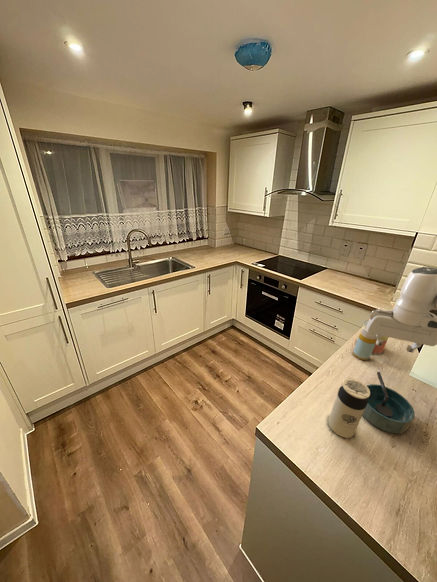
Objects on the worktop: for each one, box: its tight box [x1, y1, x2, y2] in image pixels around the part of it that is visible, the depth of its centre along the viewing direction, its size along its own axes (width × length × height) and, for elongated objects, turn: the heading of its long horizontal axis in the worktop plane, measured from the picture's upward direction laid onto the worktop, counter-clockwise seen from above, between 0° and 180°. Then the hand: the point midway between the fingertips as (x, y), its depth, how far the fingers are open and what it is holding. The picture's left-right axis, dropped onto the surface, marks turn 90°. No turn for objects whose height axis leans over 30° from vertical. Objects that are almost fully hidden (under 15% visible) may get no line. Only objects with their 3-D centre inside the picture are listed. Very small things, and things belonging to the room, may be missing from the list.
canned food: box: [360, 319, 390, 355], centre depth 115 cm, size 11×11×12 cm
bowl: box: [362, 383, 416, 434], centre depth 82 cm, size 15×15×6 cm
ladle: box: [374, 371, 393, 419], centre depth 86 cm, size 5×17×7 cm, turn 160°
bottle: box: [352, 326, 377, 361], centre depth 108 cm, size 7×7×15 cm
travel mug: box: [327, 377, 370, 439], centre depth 74 cm, size 8×8×18 cm
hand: (393, 347), depth 83 cm, fingers open, 8 cm apart
